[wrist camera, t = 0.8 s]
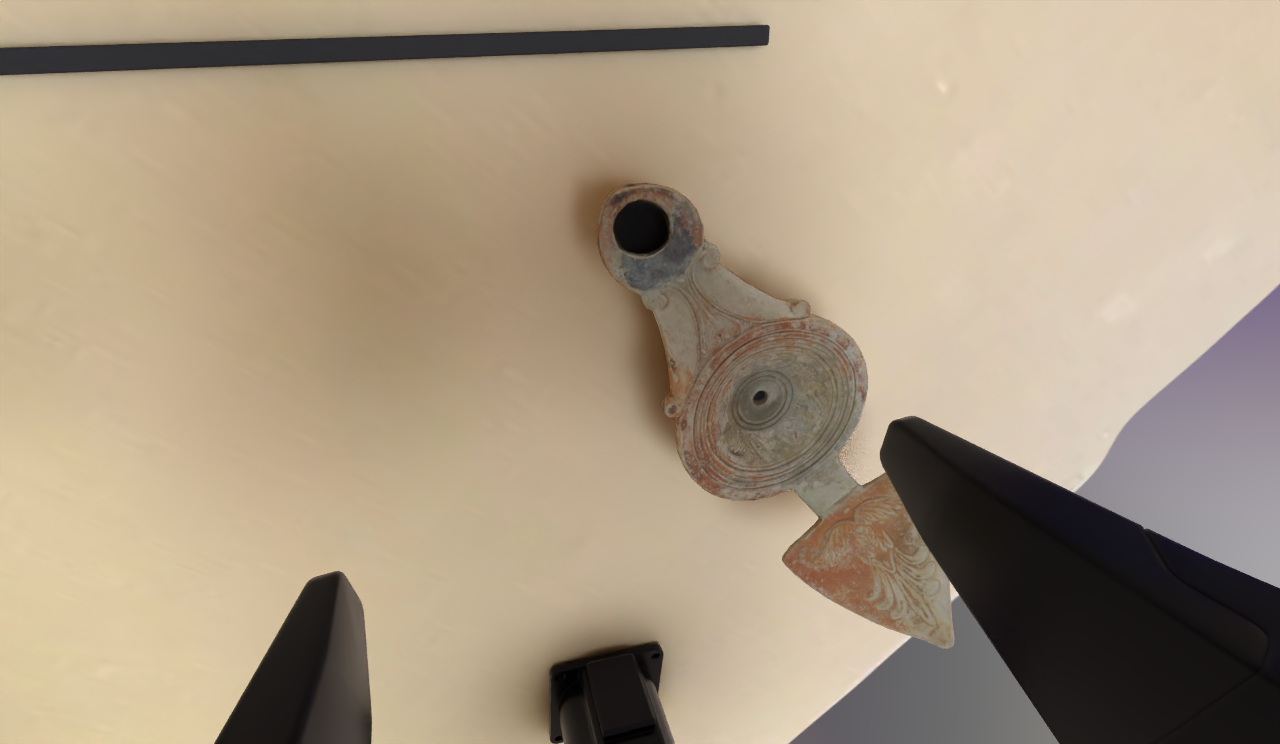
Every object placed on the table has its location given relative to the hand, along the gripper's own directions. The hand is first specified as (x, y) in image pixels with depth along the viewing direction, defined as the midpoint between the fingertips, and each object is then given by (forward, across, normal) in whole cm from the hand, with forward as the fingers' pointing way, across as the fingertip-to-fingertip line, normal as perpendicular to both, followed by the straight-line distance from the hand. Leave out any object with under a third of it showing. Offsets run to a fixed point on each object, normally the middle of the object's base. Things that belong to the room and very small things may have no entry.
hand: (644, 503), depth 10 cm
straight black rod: (+16, +3, -4) cm, 16 cm away
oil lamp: (+13, -8, +10) cm, 18 cm away
